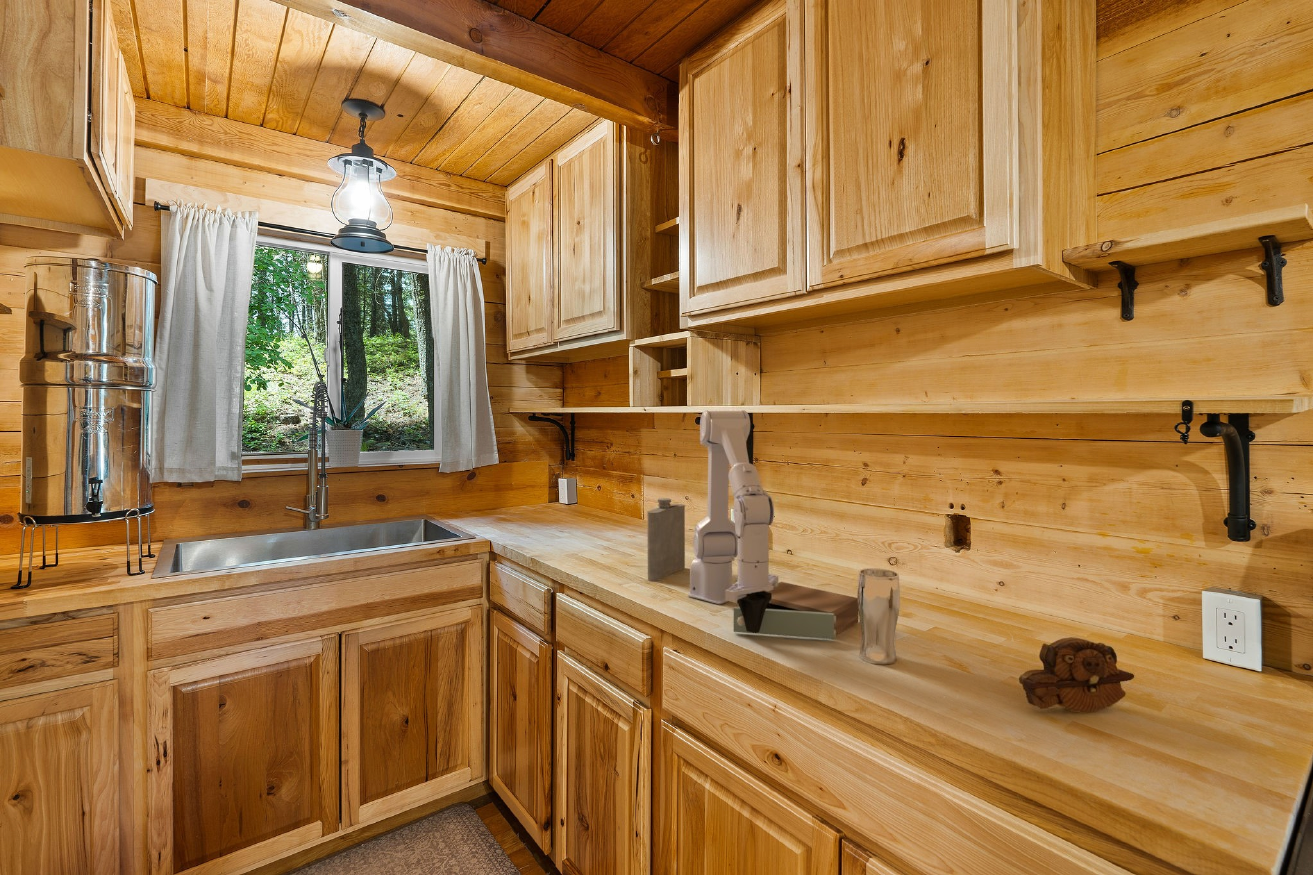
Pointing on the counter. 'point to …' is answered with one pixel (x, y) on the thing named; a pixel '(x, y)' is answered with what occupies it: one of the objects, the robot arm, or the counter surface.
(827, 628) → the cabinet door
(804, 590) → the cabinet
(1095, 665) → the wooden carving
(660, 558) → the hip flask
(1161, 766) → the counter surface
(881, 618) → the beer glass
